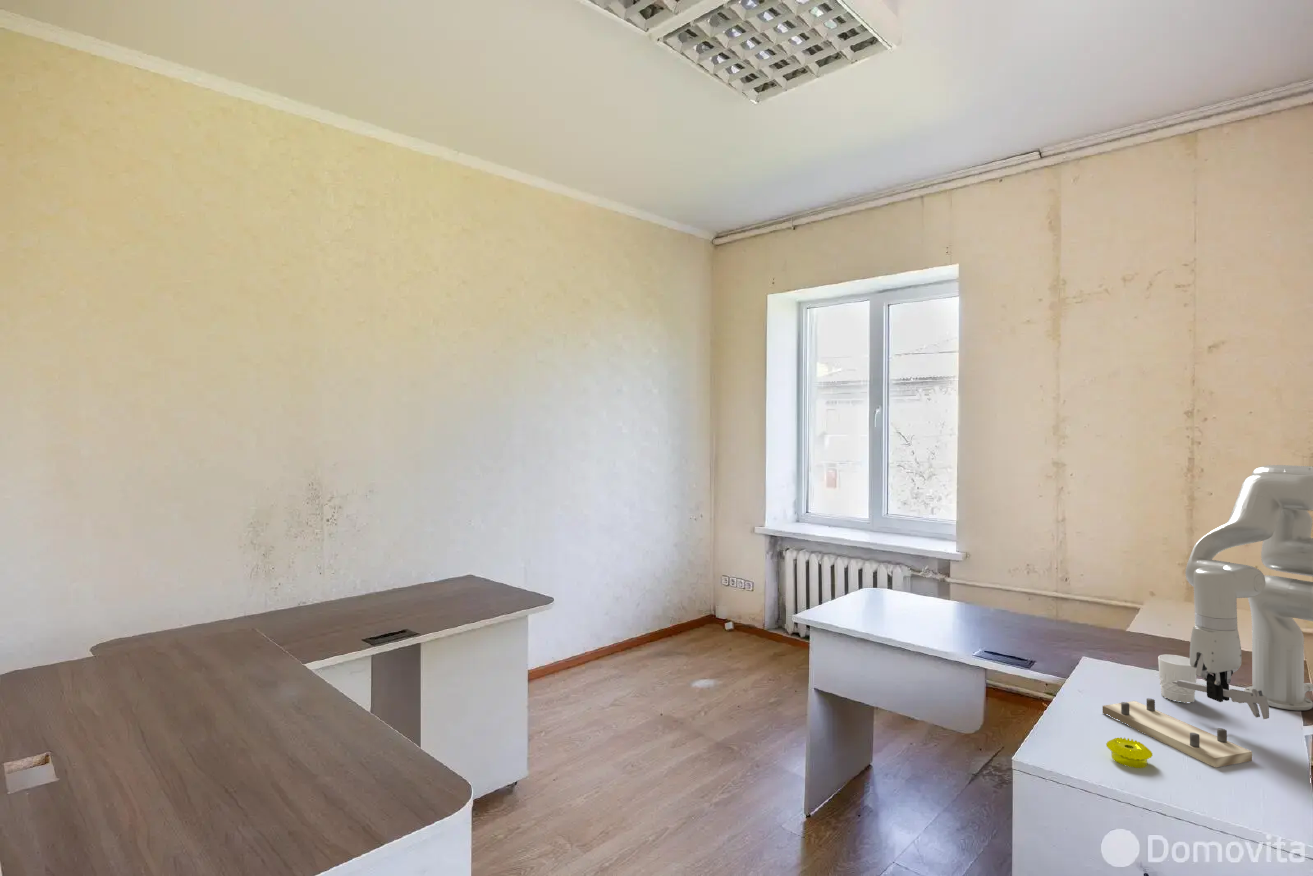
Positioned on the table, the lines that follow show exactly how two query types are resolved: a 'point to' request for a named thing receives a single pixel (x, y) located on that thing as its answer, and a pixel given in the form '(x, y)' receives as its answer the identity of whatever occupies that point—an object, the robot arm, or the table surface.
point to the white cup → (1176, 677)
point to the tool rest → (1179, 733)
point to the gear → (1129, 752)
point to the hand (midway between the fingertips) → (1218, 698)
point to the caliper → (1236, 697)
